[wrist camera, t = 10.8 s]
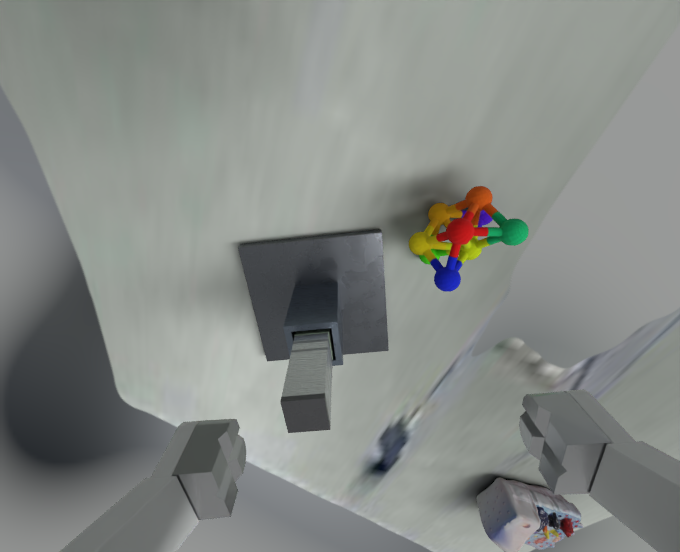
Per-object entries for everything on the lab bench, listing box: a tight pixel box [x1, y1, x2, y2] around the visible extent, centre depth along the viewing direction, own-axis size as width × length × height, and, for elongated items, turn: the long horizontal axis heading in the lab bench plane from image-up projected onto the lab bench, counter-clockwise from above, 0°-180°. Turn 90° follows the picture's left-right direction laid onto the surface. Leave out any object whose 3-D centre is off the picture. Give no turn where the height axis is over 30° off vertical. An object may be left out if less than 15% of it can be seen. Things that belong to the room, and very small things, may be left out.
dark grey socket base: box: [238, 229, 388, 366], centre depth 44 cm, size 20×20×12 cm
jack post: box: [281, 328, 333, 433], centre depth 37 cm, size 4×4×17 cm
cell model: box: [476, 478, 583, 552], centre depth 66 cm, size 13×11×20 cm
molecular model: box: [409, 186, 528, 291], centre depth 40 cm, size 12×7×12 cm, turn 130°
